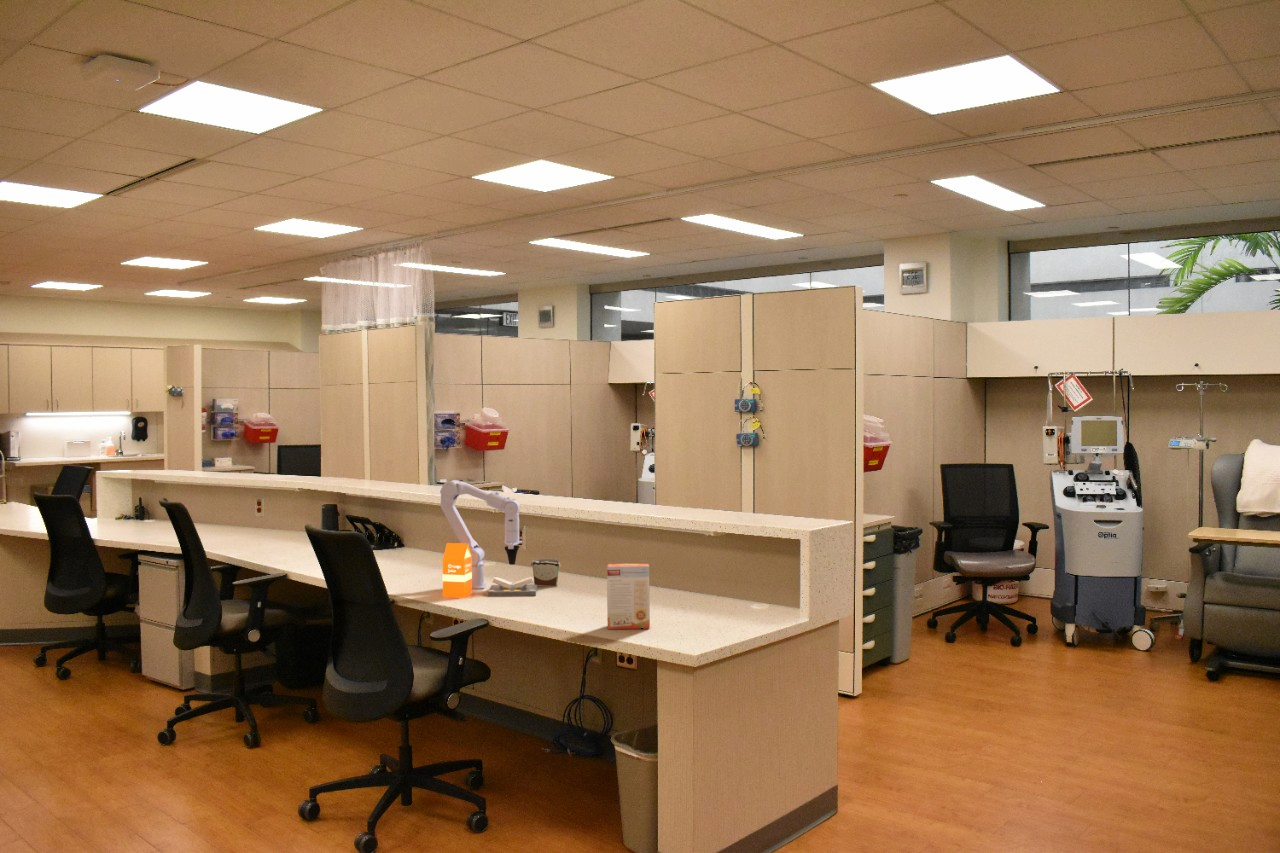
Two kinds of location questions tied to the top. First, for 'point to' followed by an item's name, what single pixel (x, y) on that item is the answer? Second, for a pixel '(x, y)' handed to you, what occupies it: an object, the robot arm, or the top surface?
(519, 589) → the switch board
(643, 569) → the cracker box
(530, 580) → the plate
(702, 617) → the top surface
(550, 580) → the food container
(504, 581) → the rocker
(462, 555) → the orange juice
